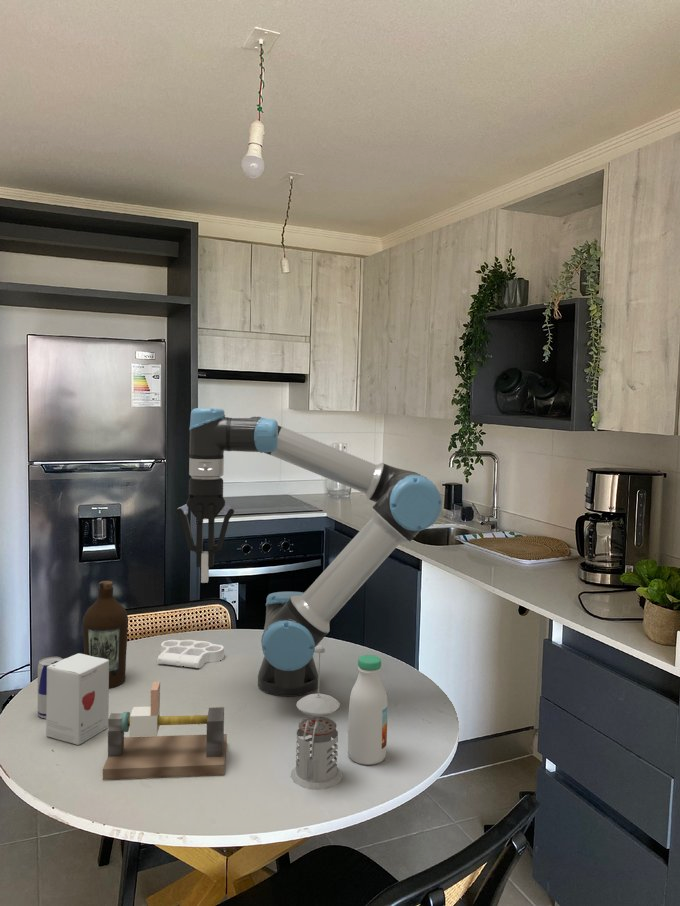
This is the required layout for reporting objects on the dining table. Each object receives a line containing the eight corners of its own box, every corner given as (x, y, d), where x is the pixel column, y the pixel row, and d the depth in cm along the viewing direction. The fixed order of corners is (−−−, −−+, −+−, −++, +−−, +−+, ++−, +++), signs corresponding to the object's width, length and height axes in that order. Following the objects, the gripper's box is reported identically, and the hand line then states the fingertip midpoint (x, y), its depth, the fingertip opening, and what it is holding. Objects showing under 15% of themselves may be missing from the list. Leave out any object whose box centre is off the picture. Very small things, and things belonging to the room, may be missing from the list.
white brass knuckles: (146, 665, 180) (171, 647, 195) (209, 673, 177) (230, 653, 191) (146, 653, 180) (171, 635, 195) (209, 660, 176) (230, 642, 191)
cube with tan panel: (159, 726, 134) (160, 681, 133) (156, 735, 130) (157, 689, 129) (133, 726, 133) (133, 682, 132) (129, 736, 129) (130, 690, 128)
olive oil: (85, 674, 172) (85, 577, 171) (129, 672, 175) (129, 576, 173) (79, 692, 162) (79, 588, 160) (126, 689, 164) (126, 587, 163)
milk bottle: (374, 770, 131) (377, 668, 129) (340, 758, 135) (343, 659, 134) (392, 753, 137) (396, 656, 136) (359, 742, 141) (362, 648, 140)
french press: (347, 765, 132) (350, 639, 131) (333, 798, 121) (337, 661, 119) (298, 758, 135) (301, 634, 133) (280, 789, 123) (283, 655, 122)
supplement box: (78, 746, 137) (78, 673, 136) (44, 737, 140) (44, 666, 139) (110, 727, 145) (110, 658, 144) (77, 718, 148) (77, 651, 147)
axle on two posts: (226, 743, 140) (227, 696, 139) (223, 774, 128) (224, 724, 127) (115, 747, 137) (116, 699, 136) (102, 779, 125) (102, 728, 124)
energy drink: (54, 720, 147) (54, 666, 146) (32, 717, 148) (32, 664, 148) (69, 710, 153) (69, 657, 152) (47, 707, 154) (47, 655, 153)
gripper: (174, 478, 147) (173, 585, 149) (235, 479, 149) (233, 585, 151) (178, 475, 155) (177, 577, 156) (236, 475, 157) (234, 576, 158)
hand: (204, 581), depth 154 cm, fingers closed
